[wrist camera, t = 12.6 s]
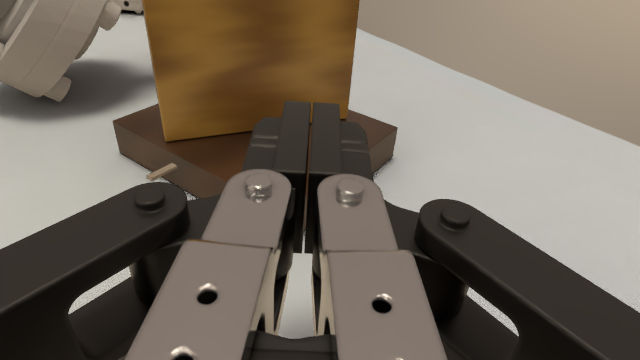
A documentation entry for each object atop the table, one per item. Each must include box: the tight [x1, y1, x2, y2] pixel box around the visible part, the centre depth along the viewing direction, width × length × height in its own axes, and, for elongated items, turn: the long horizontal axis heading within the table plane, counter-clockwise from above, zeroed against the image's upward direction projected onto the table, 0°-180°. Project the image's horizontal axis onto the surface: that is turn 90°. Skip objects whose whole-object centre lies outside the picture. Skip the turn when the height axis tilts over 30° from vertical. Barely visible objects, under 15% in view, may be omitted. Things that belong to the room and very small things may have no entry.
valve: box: [0, 0, 121, 102], centre depth 32 cm, size 10×20×15 cm
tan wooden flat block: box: [142, 0, 359, 142], centre depth 22 cm, size 10×2×7 cm, turn 111°
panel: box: [113, 104, 397, 231], centre depth 25 cm, size 14×14×2 cm
